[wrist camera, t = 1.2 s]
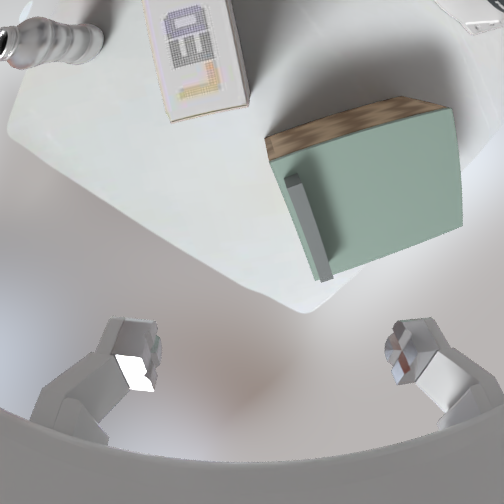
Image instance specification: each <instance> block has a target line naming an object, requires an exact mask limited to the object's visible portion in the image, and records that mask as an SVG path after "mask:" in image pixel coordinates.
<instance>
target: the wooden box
mask: <svg viewBox="0 0 504 504" xmlns="http://www.w3.org/2000/svg"><path fill="white" fill-rule="evenodd" d="M443 108H447V107H445V106H441V105H438V104H434V103H430V102H426V101H421V100H417V99H413V98H408V97H403V96H400V97H396V98H391V99H387V100H383V101H380V102H376V103H372V104H368V105H364V106H361V107H357V108H354V109H350V110H347V111H344V112H340V113H337V114H334V115H330V116H327V117H324V118H321V119H318V120H315V121H312V122H309V123H306V124H303V125H300V126H297V127H294V128H291V129H288V130H286V131H283V132H280V133H277V134H275V135H272V136H269V137H267V138H265V143H266V148H267V153H268V158H269V161H271V160H274V159H276V158H279V157H282V156H284V155H287V154H290V153H293V152H295V151H298V150H301V149H304V148H307V147H310V146H313V145H316V144H319V143H322V142H325V141H328V140H331V139H334V138H337V137H340V136H343V135H346V134H350V133H353V132H356V131H359V130H363V129H366V128H369V127H373V126H376V125H380V124H383V123H387V122H391V121H394V120H398V119H402V118H405V117H409V116H413V115H417V114H421V113H425V112H430V111H434V110H438V109H443Z"/></svg>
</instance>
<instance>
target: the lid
mask: <svg viewBox="0 0 504 504" xmlns="http://www.w3.org/2000/svg"><path fill="white" fill-rule="evenodd" d="M269 163H270V166H271V168H272V170H273V173H274V175H275V178H276V180H277V183H278V185H279V188H280V190H281V192H282V195H283V197H284V200H285V202H286V205H287V207H288V210H289V213H290V215H291V218H292V220H293V223H294V225H295V228H296V231H297V233H298V236H299V238H300V241H301V244H302V246H303V249H304V252H305V254H306V257H307V260H308V263H309V265H310V268H311V271H312V274H313V276H314V279H315V281H316V280H319V279H320V281H321V283H322V282H325V281H328V280H330V279H333V275H334V274H337V273H340V272H343V271H345V270H348V269H351V268H354V267H357V266H360V265H362V264H365V263H368V262H371V261H374V260H376V259H379V258H382V257H385V256H387V255H390V254H392V253H395V252H398V251H400V250H403V249H406V248H409V247H411V246H414V245H416V244H419V243H422V242H424V241H427V240H429V239H432V238H434V237H437V236H439V235H442V234H444V233H447V232H449V231H452V230H454V229H457V228H459V227H461V226H463V223H462V222H463V220H462V219H463V217H462V216H463V214H462V213H463V212H462V185H461V171H460V161H459V152H458V144H457V136H456V130H455V124H454V118H453V112H452V108H449V107H447V108H443V109H438V110H434V111H430V112H425V113H421V114H417V115H413V116H409V117H405V118H402V119H398V120H394V121H391V122H387V123H383V124H380V125H376V126H373V127H369V128H366V129H363V130H359V131H356V132H353V133H350V134H346V135H343V136H340V137H337V138H334V139H331V140H328V141H325V142H322V143H319V144H316V145H313V146H310V147H307V148H304V149H301V150H298V151H295V152H293V153H290V154H287V155H284V156H282V157H279V158H276V159H274V160H271V161H269Z"/></svg>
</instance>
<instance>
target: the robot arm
mask: <svg viewBox="0 0 504 504" xmlns="http://www.w3.org/2000/svg"><path fill="white" fill-rule="evenodd" d="M434 1H435V2H436V3H437V4H438V5H439V7H440V8H441V9H443V10H444V11H445V12H446V13H447V14H448V15H450V16H451V17H453V18H454V19H456V20H457V21H458V22H460V23H461V25H462V26H463V27H464V28H465V30H466V31H467V32H468V33H469V34H471V35H477V34H480V33H483V32H487V31H490V30H493V29H497V28H500V27H504V0H434ZM475 26H476V27H475ZM157 330H158V327H157V324H156V321H152V320H142V319H135V318H124V317H116V316H112V317H111V318H110V319H109V321H108V323H107V326H106V328H105V330H104V332H103V335H102V337H101V339H100V342H99V344H98V346H97V349H96V351H95V352H90V353H89V354H88V355H86V356H85V357H84V358H82V359H81V360H80V361H79V362H77V363H76V364H74V365H73V366H72V367H70V368H69V369H68V370H66V371H65V372H63V373H62V374H61V375H59V376H58V377H57V378H55V379H54V380H53V381H51V382H50V383H49V384H48V385H46V386H45V387H43V388H42V390H41V392H40V395H39V397H38V400H37V402H36V404H35V407H34V409H33V412H32V415H31V417H30V420H26V419H24V418H22V417H20V416H17V415H15V414H13V413H11V412H8V411H6V410H4V409H2V408H0V504H504V394H503V392H502V390H501V388H500V386H499V384H498V382H497V380H496V378H495V377H494V376H493V375H492V374H490V373H489V372H487V371H486V370H485V369H483V368H482V367H481V366H479V365H478V364H476V363H475V362H473V361H472V360H471V359H469V358H468V357H466V356H465V355H464V354H462V353H461V352H459V351H458V350H457V349H455V348H451V347H450V345H449V344H448V342H447V340H446V339H445V337H444V335H443V333H442V332H441V330H440V328H439V327H438V325H437V323H436V322H435V320H434V319H433V318H431V317H429V318H421V319H410V320H400V321H397V322H396V323H395V324H394V326H393V331H394V333H393V334H391V335H390V336H389V337H388V339H387V341H386V343H385V356H386V359H387V362H389V363H390V364H391V365H393V367H392V370H391V372H392V374H393V377H394V379H395V382H396V385H402V384H408V383H414V382H416V383H415V384H416V385H417V386H418V387H419V388H420V389H421V390H422V391H423V392H424V393H425V394H426V395H427V396H428V397H429V398H431V399H432V401H434V403H435V404H437V405H438V406H439V408H440V409H441V410H443V411H444V412H445V414H444V415H443V416H442V417H441V418H440V419H439V421H438V422H437V425H438V428H439V431H437V432H434V433H431V434H428V435H425V436H421V437H419V438H415V439H411V440H408V441H405V442H401V443H397V444H393V445H389V446H385V447H381V448H376V449H371V450H366V451H362V452H356V453H350V454H344V455H338V456H332V457H323V458H315V459H306V460H294V461H278V462H215V461H201V460H187V459H180V458H171V457H164V456H157V455H150V454H144V453H139V452H134V451H129V450H124V449H119V448H114V447H110V446H107V445H108V441H109V437H108V435H107V433H106V432H105V431H104V430H103V429H102V428H101V427H100V425H99V423H100V421H101V420H102V419H103V418H104V417H105V416H106V415H107V414H108V413H109V412H110V411H111V410H112V409H113V408H114V407H115V406H116V405H117V404H118V403H119V401H120V400H121V399H122V398H123V397H124V396H125V395H126V394H127V393H128V392H129V391H130V389H136V390H145V391H154V389H155V384H156V380H157V372H156V369H155V368H156V367H157V366H159V365H160V361H161V356H162V345H161V339H160V337H158V336H157V335H156V333H157Z"/></svg>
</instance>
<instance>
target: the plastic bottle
mask: <svg viewBox="0 0 504 504" xmlns="http://www.w3.org/2000/svg"><path fill="white" fill-rule="evenodd" d="M103 41H104V36H103V32H102V31H101V29H100V28H98V27H97V26H95V25H93V24H78V25H67V24H63V23H58V22H55V21H53V20H50V19H47V18H44V17H33V18H30V19H27V20H25V21H23V22H22V23H20V24H19V25H18V26H9V27H1V28H0V61H7V62H8V63H9V64H10V66H12V67H13V68H16V69H20V70H24V69H28V68H32V67H35V66H38V65H41V64H45V63H51V62H64V63H67V64H72V65H80V64H84V63H87V62H89V61H91V60H92V59H93V58H95V57H96V56H97V55H98V53H99V52H100V50H101V48H102V45H103Z"/></svg>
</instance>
